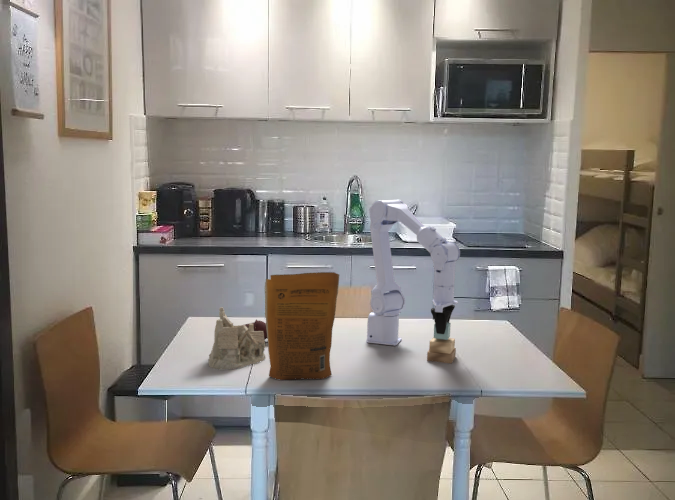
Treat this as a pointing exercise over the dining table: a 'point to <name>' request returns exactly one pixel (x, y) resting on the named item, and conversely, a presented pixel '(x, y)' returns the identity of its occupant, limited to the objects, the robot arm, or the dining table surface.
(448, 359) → the tower base
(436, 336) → the teal cube
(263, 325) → the icecream
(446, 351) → the tower top
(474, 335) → the dining table surface
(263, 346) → the ceramic cottage
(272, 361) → the pancake mix bag
